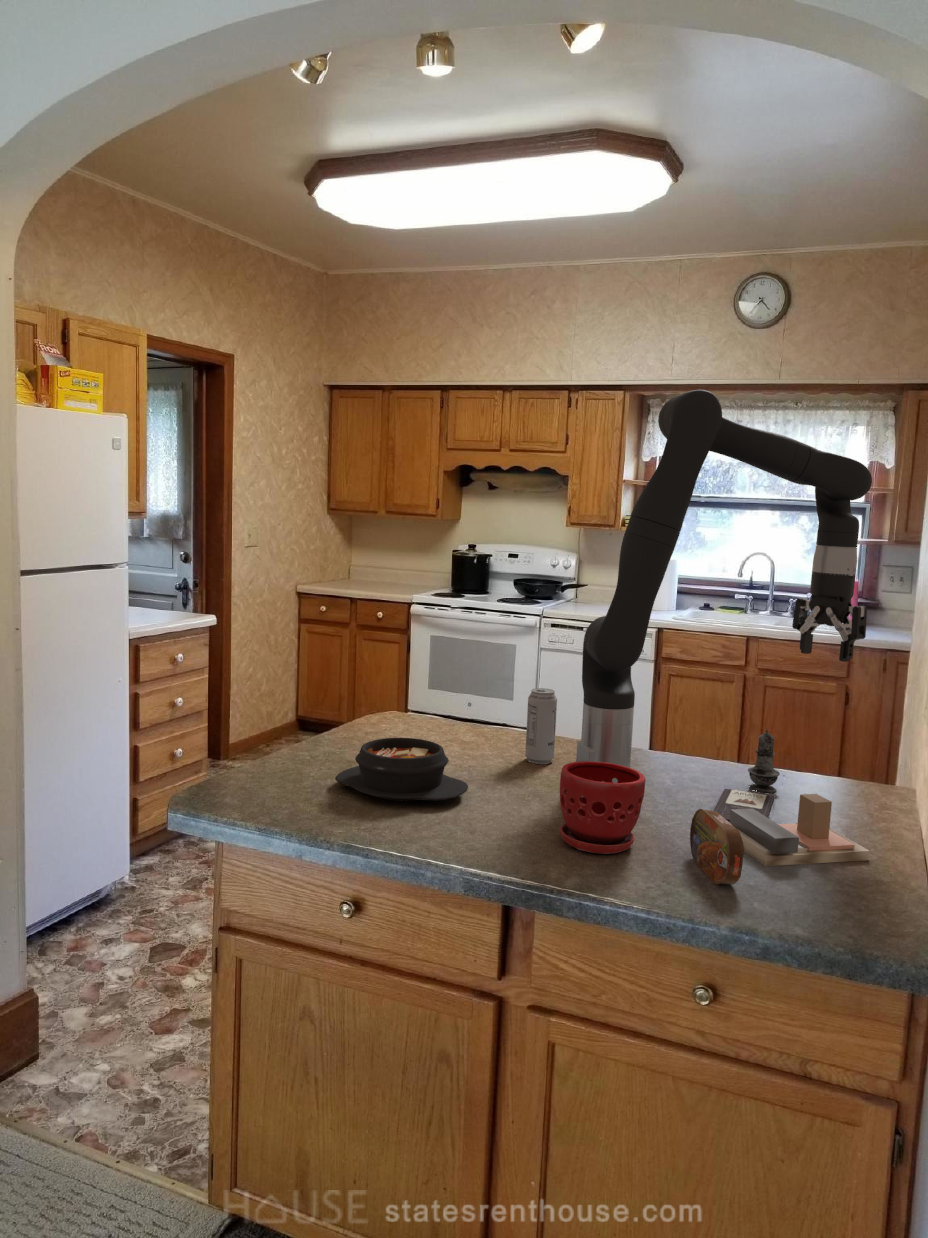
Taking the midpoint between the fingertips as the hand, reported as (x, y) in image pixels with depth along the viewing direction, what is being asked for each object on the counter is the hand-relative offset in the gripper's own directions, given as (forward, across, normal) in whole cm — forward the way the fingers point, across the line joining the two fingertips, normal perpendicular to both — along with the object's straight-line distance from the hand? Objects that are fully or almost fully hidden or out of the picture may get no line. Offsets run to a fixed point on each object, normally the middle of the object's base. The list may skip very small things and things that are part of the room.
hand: (824, 657), depth 166 cm
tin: (+28, +19, -45) cm, 56 cm away
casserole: (+28, -33, -71) cm, 83 cm away
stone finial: (+27, -7, -6) cm, 29 cm away
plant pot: (+28, +3, -53) cm, 60 cm away
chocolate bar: (+28, 0, -18) cm, 33 cm away
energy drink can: (+28, -40, -35) cm, 60 cm away
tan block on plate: (+25, +18, -22) cm, 39 cm away
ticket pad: (+27, +18, -25) cm, 41 cm away
